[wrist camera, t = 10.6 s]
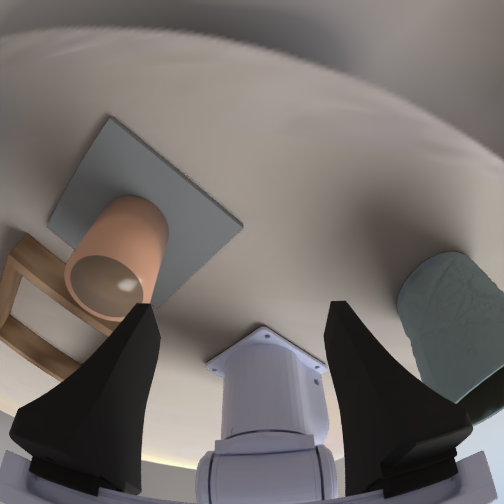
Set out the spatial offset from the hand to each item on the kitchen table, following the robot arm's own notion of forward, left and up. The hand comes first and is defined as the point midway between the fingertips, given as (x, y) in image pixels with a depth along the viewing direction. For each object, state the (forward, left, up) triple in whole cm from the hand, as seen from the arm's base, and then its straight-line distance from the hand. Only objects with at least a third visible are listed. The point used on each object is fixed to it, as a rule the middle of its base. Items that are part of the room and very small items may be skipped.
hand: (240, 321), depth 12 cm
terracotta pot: (+5, +6, -9) cm, 12 cm away
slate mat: (+5, +6, -9) cm, 12 cm away
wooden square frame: (+5, +20, -9) cm, 23 cm away
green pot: (-17, -7, -10) cm, 21 cm away
